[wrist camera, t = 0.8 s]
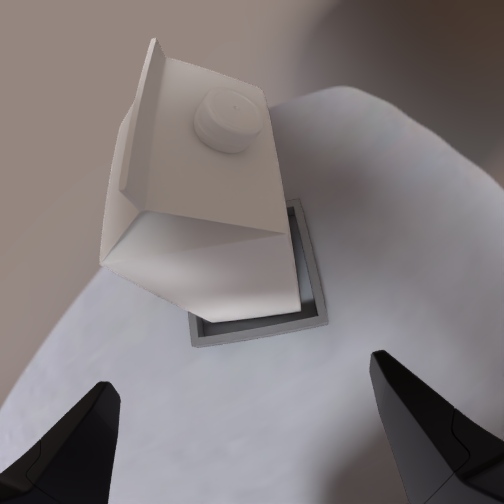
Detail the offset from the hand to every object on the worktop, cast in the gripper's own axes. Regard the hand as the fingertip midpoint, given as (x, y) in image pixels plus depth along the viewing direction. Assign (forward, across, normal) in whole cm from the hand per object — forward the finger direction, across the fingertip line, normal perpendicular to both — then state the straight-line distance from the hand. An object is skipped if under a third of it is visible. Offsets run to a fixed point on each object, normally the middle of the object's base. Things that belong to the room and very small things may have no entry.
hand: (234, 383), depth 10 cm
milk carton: (+16, 0, +5) cm, 16 cm away
